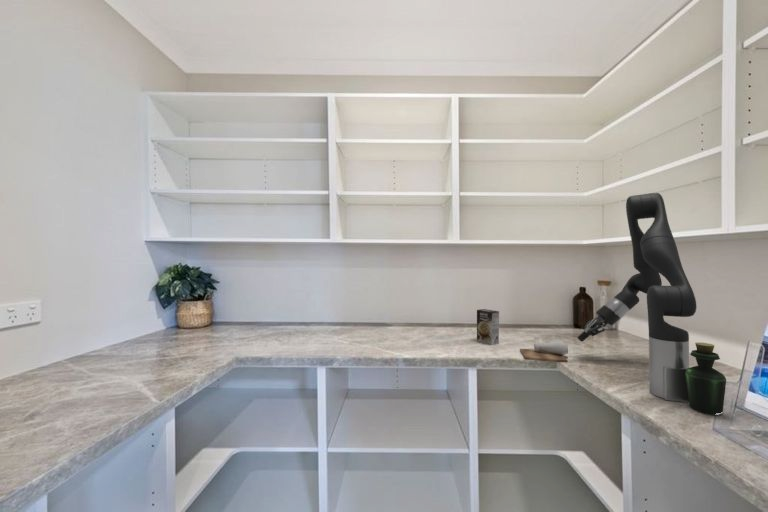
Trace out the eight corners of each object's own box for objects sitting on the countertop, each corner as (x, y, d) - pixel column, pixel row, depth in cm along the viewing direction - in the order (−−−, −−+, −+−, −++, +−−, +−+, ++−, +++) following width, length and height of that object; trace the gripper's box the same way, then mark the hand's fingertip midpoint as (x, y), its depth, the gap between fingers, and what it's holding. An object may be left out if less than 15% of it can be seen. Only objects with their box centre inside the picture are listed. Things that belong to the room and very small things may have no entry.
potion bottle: (681, 408, 90) (680, 343, 91) (689, 401, 95) (689, 339, 95) (723, 420, 84) (722, 349, 84) (730, 411, 88) (729, 345, 89)
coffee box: (476, 341, 165) (476, 309, 165) (484, 339, 169) (483, 308, 169) (491, 345, 158) (491, 312, 158) (499, 343, 162) (499, 310, 162)
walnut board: (558, 352, 145) (558, 351, 145) (567, 362, 132) (567, 360, 132) (519, 350, 149) (519, 348, 149) (524, 359, 136) (524, 357, 136)
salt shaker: (567, 351, 135) (533, 350, 141) (568, 357, 138) (535, 355, 145) (566, 338, 138) (533, 337, 144) (567, 344, 142) (535, 343, 148)
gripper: (598, 302, 141) (567, 329, 144) (611, 306, 128) (577, 336, 131) (613, 315, 139) (581, 342, 142) (627, 321, 127) (592, 350, 129)
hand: (579, 339), depth 137 cm, fingers closed
